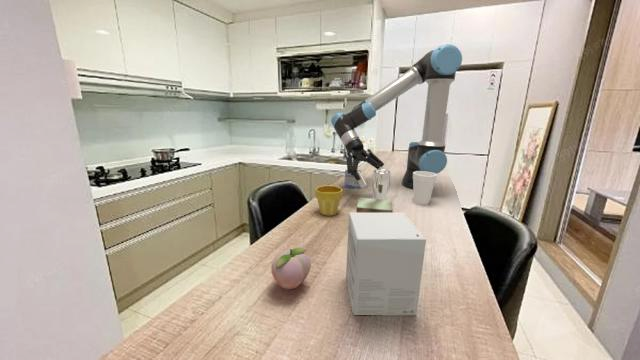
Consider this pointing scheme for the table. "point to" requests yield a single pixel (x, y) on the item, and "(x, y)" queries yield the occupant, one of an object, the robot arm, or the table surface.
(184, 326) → the table surface
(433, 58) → the robot arm
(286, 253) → the decorative fruit
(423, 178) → the foam cup
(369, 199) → the green box
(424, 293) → the table surface
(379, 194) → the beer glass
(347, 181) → the medicine box
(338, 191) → the plant pot
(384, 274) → the supplement box
